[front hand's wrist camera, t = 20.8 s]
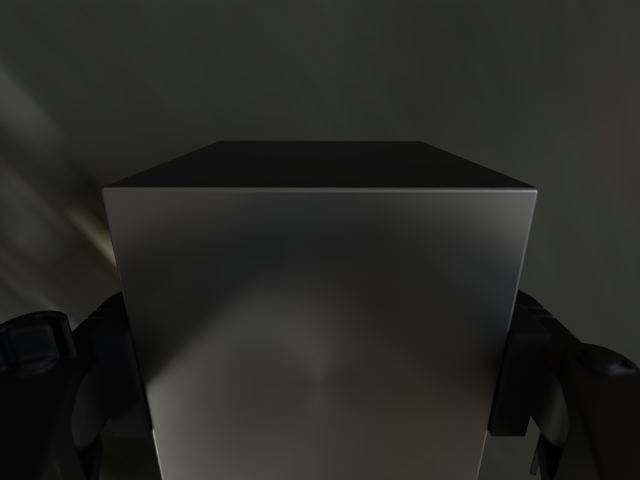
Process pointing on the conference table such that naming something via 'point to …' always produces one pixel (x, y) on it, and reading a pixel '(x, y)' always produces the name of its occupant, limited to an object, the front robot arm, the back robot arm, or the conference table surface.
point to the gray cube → (319, 307)
